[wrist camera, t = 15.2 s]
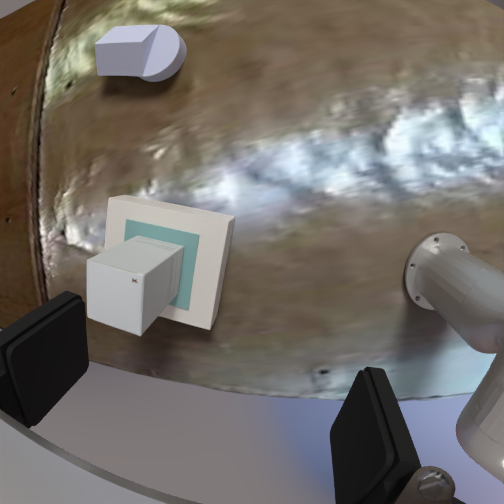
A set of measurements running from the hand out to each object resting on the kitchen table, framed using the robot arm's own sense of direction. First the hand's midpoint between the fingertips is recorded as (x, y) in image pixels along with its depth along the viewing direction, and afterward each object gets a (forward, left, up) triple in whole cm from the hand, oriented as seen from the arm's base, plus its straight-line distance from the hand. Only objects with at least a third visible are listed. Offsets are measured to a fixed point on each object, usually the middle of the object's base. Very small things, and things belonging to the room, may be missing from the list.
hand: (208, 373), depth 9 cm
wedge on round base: (+24, -22, -37) cm, 49 cm away
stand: (+14, +9, -36) cm, 40 cm away
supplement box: (+14, +9, -31) cm, 35 cm away
